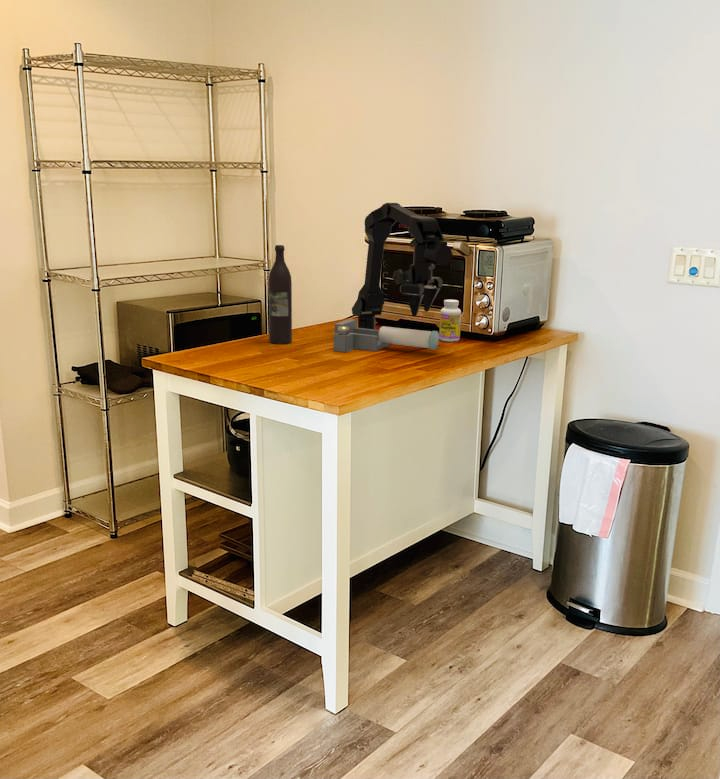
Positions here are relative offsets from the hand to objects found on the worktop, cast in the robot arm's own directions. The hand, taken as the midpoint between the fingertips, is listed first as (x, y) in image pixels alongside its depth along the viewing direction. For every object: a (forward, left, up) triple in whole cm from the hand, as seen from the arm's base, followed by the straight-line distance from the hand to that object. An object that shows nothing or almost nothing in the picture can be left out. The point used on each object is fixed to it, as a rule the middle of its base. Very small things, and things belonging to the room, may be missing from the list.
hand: (420, 313), depth 242 cm
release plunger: (+11, -20, -11) cm, 25 cm away
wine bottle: (+11, -43, -12) cm, 45 cm away
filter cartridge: (+3, -2, -10) cm, 10 cm away
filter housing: (+6, -18, -11) cm, 22 cm away
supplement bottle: (-20, +2, -12) cm, 23 cm away
